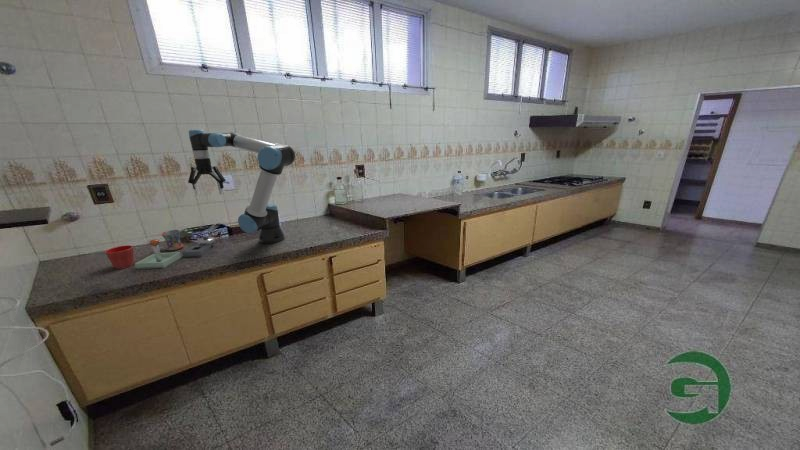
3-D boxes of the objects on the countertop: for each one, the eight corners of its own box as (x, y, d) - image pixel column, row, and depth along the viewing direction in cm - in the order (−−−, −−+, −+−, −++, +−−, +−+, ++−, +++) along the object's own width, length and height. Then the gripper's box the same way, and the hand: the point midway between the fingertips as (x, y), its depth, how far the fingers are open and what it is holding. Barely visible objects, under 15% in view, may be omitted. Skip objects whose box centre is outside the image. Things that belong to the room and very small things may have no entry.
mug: (182, 250, 179) (178, 233, 176) (163, 252, 175) (159, 235, 172) (186, 243, 189) (182, 227, 186) (169, 246, 186) (164, 230, 182)
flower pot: (123, 261, 164) (118, 245, 161) (142, 261, 164) (137, 245, 161) (104, 270, 154) (98, 252, 151) (125, 270, 154) (119, 252, 151)
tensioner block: (219, 243, 187) (217, 233, 185) (201, 256, 169) (198, 245, 167) (203, 244, 187) (201, 234, 185) (183, 256, 168) (180, 246, 166)
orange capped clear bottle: (166, 259, 163) (160, 239, 160) (160, 262, 159) (155, 241, 156) (158, 260, 163) (152, 239, 160) (153, 262, 159) (147, 241, 156)
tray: (181, 257, 168) (180, 252, 168) (164, 267, 155) (162, 262, 154) (156, 258, 168) (154, 253, 167) (136, 268, 155) (134, 263, 154)
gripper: (227, 156, 175) (234, 192, 181) (183, 158, 174) (192, 193, 180) (220, 157, 168) (228, 195, 174) (175, 159, 167) (184, 196, 173)
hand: (210, 194), depth 177 cm, fingers open, 13 cm apart
